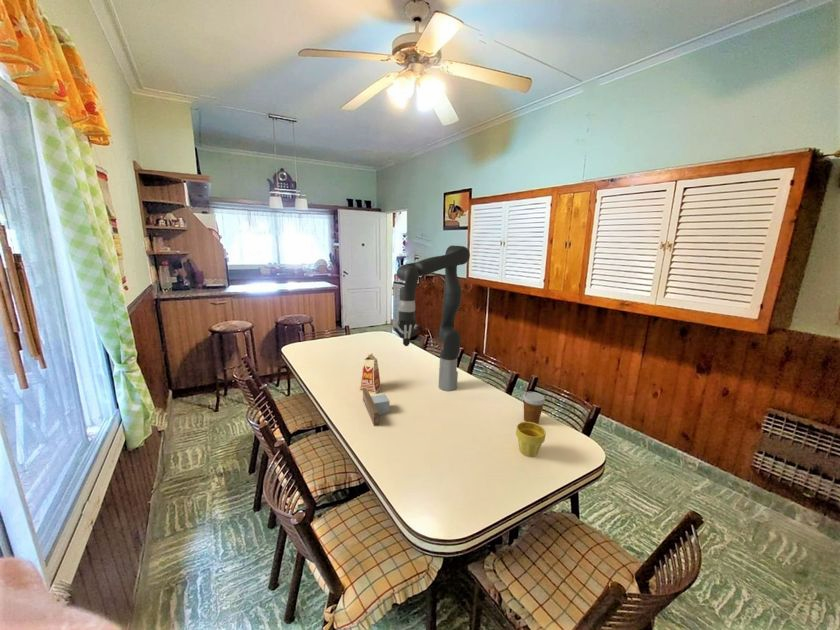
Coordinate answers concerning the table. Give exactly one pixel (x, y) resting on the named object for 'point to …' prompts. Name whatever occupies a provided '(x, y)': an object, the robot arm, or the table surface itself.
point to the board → (370, 407)
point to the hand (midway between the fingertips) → (406, 345)
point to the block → (381, 403)
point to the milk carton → (370, 375)
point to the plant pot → (530, 438)
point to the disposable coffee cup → (533, 406)
